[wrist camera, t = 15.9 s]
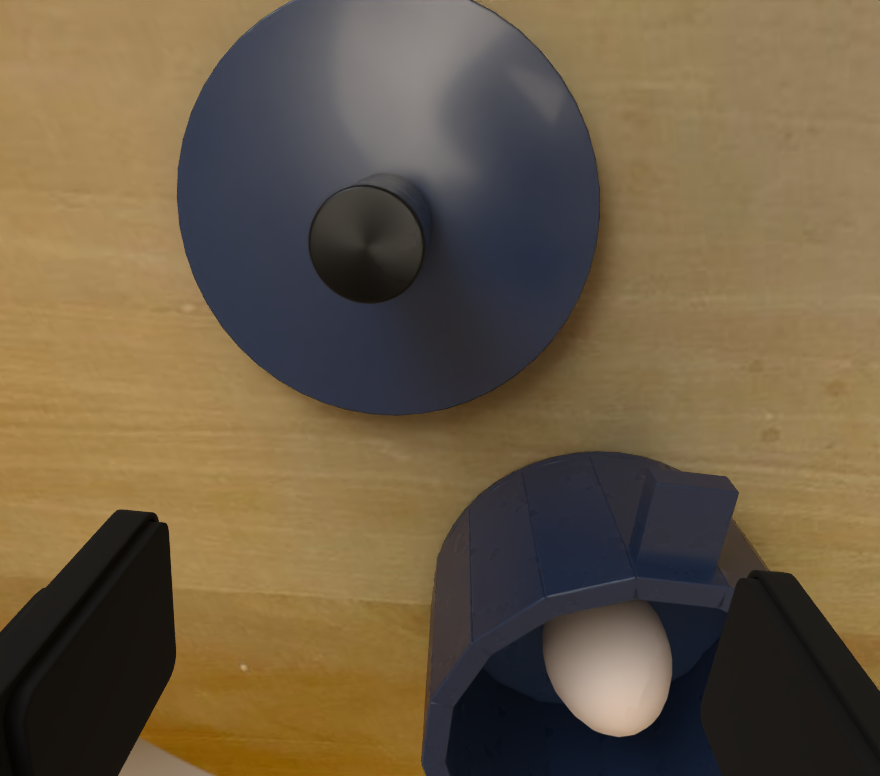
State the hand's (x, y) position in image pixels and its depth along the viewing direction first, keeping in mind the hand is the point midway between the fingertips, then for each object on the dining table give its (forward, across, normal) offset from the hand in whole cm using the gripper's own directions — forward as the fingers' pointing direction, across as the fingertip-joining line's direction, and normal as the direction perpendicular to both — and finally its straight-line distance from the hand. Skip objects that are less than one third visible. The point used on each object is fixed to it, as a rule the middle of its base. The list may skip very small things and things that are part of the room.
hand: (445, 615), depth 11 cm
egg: (+16, -7, +11) cm, 20 cm away
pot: (+16, -7, +11) cm, 21 cm away
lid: (+15, +3, -4) cm, 16 cm away
